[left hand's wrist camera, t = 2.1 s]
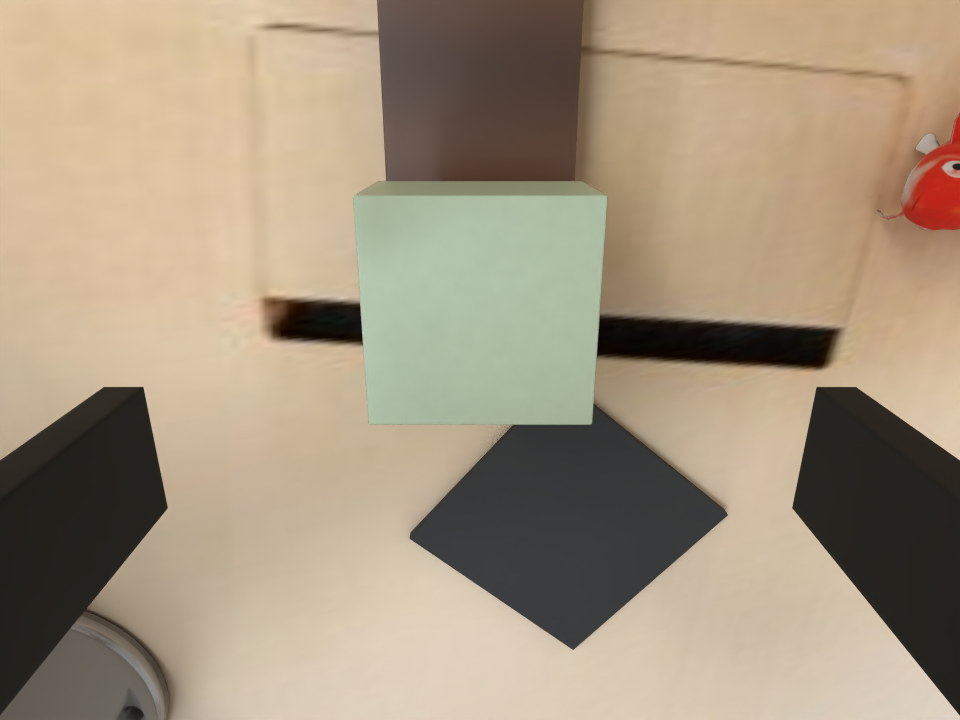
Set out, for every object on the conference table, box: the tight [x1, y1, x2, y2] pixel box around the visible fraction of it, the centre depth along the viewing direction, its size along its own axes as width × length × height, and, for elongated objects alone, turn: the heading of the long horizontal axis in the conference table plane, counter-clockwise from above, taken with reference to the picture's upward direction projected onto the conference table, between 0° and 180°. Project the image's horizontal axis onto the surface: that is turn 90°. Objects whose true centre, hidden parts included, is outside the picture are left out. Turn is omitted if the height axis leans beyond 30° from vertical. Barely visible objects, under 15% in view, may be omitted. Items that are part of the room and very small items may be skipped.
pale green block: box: [353, 181, 608, 425], centre depth 24 cm, size 8×8×5 cm
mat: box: [410, 404, 727, 650], centre depth 40 cm, size 14×14×1 cm
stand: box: [377, 0, 583, 181], centre depth 27 cm, size 28×9×10 cm, turn 0°
